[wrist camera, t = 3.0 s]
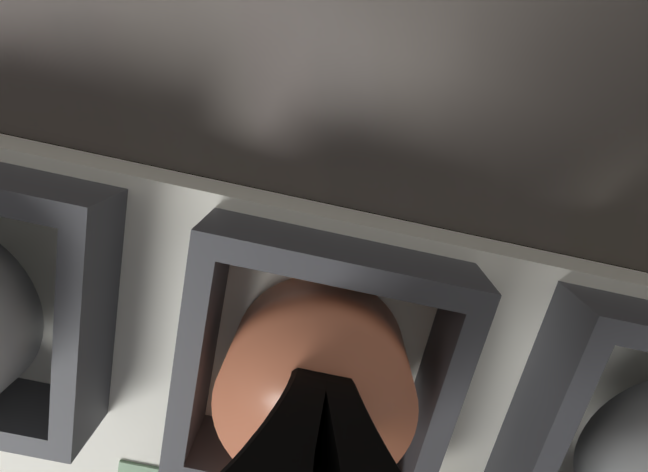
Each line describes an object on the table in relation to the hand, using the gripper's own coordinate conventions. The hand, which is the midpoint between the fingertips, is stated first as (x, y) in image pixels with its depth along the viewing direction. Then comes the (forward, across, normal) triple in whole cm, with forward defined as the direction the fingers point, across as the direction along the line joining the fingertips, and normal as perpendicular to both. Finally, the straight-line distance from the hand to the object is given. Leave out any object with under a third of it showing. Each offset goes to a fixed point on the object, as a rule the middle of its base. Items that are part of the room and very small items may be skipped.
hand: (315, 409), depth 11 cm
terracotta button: (+2, 0, 0) cm, 2 cm away
